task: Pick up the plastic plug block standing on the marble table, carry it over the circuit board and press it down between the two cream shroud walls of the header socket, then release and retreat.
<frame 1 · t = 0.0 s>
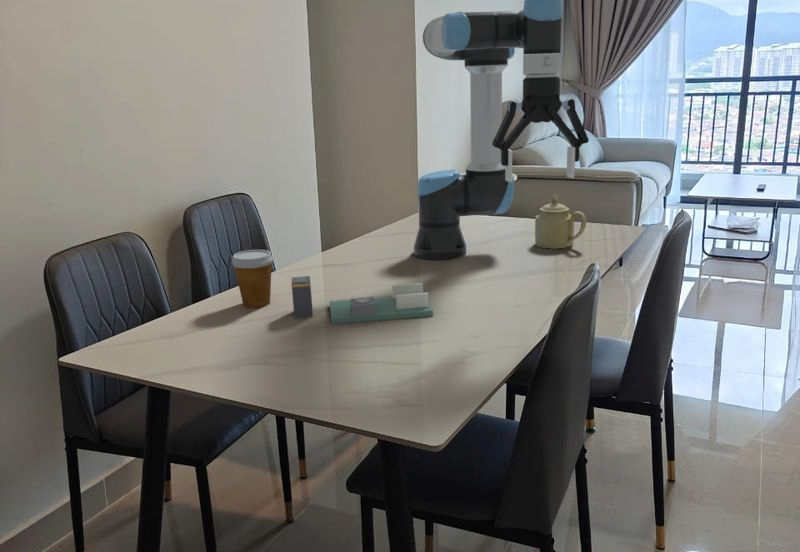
hand: (539, 179, 153), 28 cm above the table, fingers open, 13 cm apart
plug: (303, 314, 160), on the table
board: (380, 310, 160), on the table
disposable coffee cup: (256, 304, 168), on the table
pale yellow ceramic pot: (560, 245, 210), on the table
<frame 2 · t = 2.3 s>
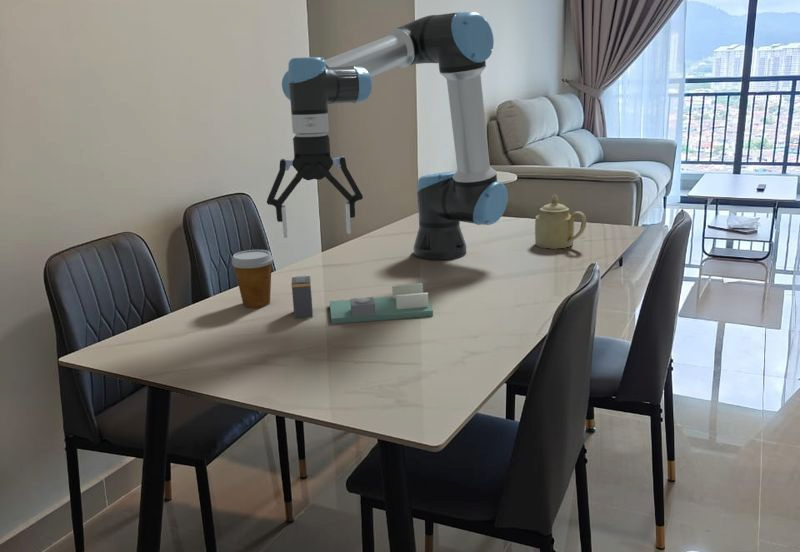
hand: (317, 234, 154), 18 cm above the table, fingers open, 13 cm apart
nothing on the table moved.
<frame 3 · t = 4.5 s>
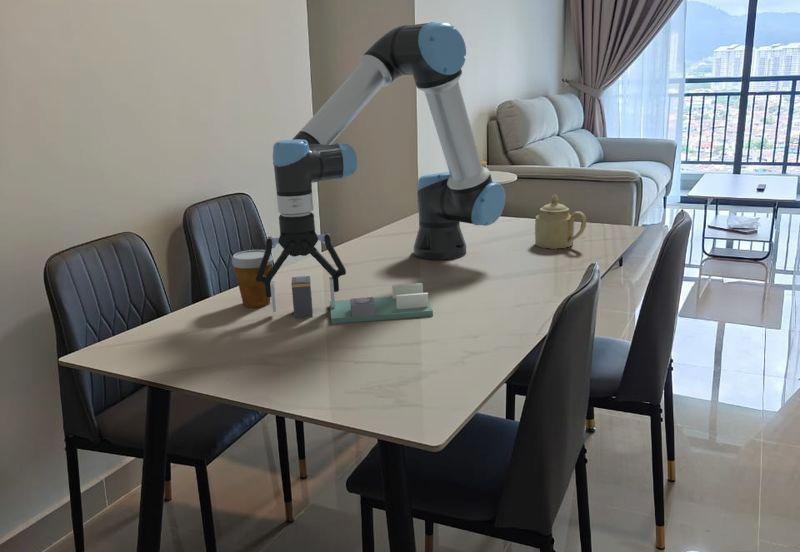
hand: (304, 308, 159), 1 cm above the table, fingers open, 12 cm apart
nothing on the table moved.
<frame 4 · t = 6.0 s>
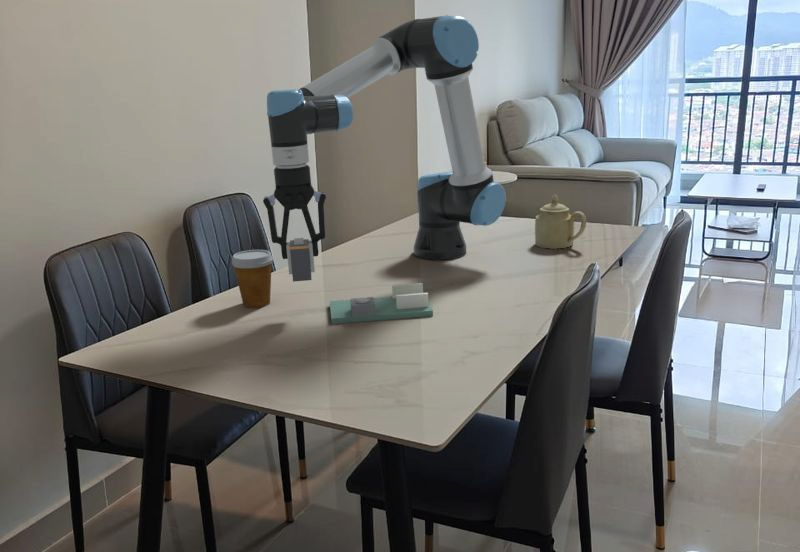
hand: (302, 271, 157), 10 cm above the table, fingers closed on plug, 4 cm apart
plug: (302, 277, 158), point 8 cm above the table, touching gripper
everything else where it was.
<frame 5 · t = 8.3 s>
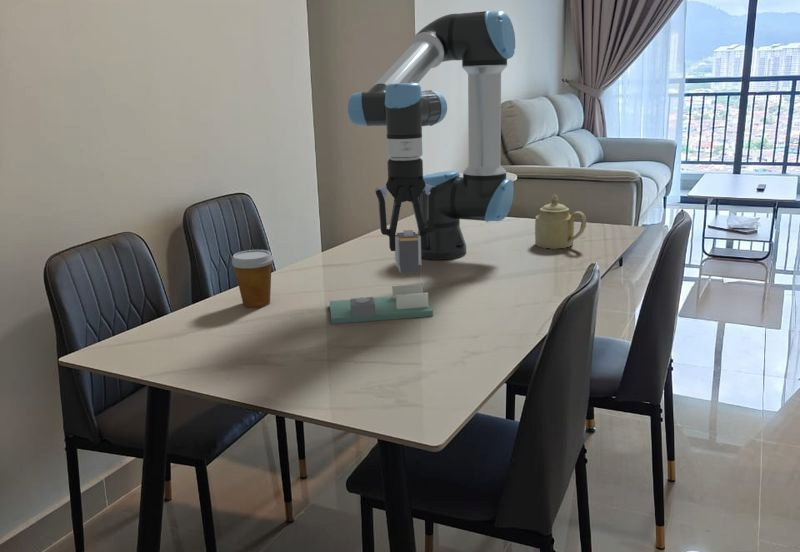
hand: (408, 263, 158), 10 cm above the table, fingers closed on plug, 4 cm apart
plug: (408, 269, 158), point 9 cm above the table, touching gripper
everything else where it was.
when the fingers open (2 cm above the table, at t = 10.6 s): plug stays where it is, resting on board.
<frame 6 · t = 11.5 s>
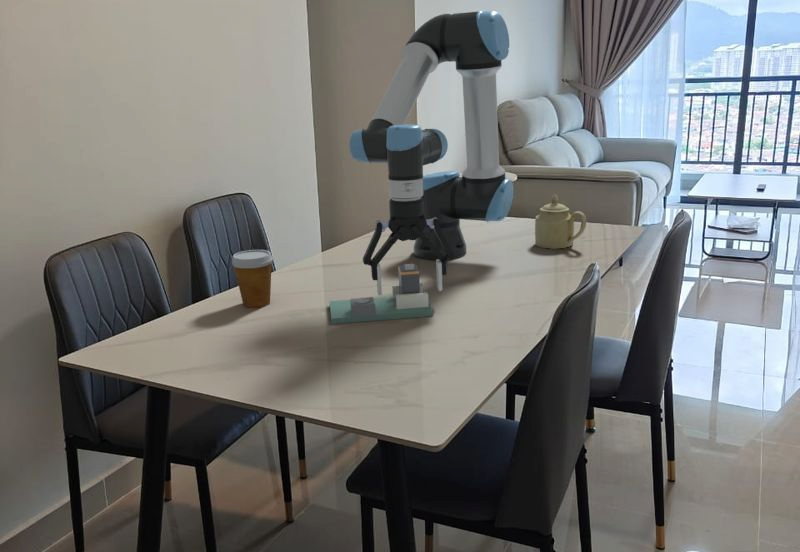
hand: (409, 291, 160), 4 cm above the table, fingers open, 13 cm apart
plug: (409, 301, 161), point 1 cm above the table, touching board
everything else where it was.
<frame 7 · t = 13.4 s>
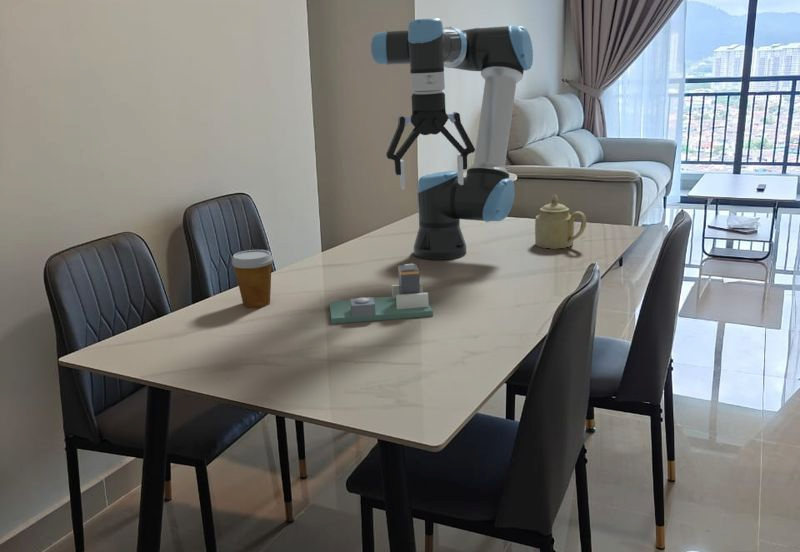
hand: (432, 186, 166), 25 cm above the table, fingers open, 13 cm apart
nothing on the table moved.
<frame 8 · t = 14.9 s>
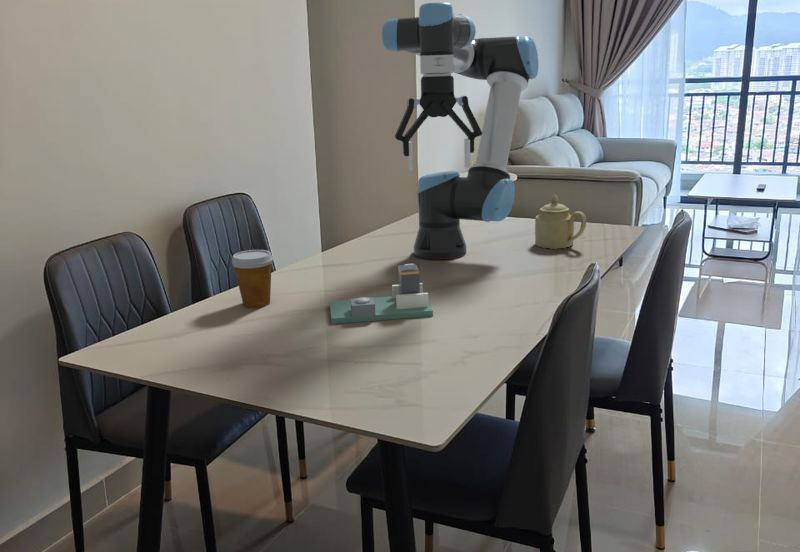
hand: (439, 168, 169), 29 cm above the table, fingers open, 13 cm apart
nothing on the table moved.
at the end: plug 0.2 cm from the target spot on the board, point 1.3 cm above the board's base; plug tilted 0°; the gripper is holding nothing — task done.
